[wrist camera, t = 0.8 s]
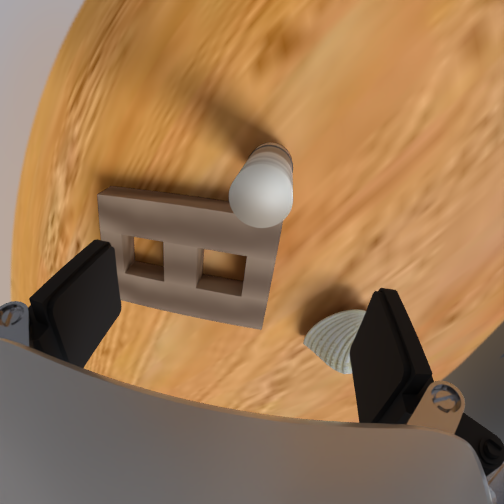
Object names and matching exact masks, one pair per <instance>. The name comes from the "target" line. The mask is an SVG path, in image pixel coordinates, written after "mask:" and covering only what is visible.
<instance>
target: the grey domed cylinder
mask: <svg viewBox="0 0 504 504" xmlns="http://www.w3.org/2000/svg"><path fill="white" fill-rule="evenodd" d="M292 173H293V163H292V158H291V155H290V153H289V152H288V150H287V149H286V148H285V147H283V146H282V145H280V144H278V143H272V142H269V143H264V144H262V145H260V146H258V147H257V148H256V149H255V150H254V151H253V152H252V153H251V155H250V156H249V158H248V160H247V162H246V163H245V165H244V166H243V168H242V169H241V171H240V172H239V174H238V175H237V177H236V178H235V180H234V181H233V183H232V185H231V187H230V190H229V203H230V206H231V209H232V211H233V213H234V214H235V215H236V217H237V218H238V219H239V220H241V221H242V222H243V223H245V224H247V225H249V226H252V227H256V228H268V227H272V226H275V225H277V224H279V223H280V222H282V221H283V220H284V219H285V218H286V217H287V215H288V214H289V212H290V210H291V208H292V204H293V178H292Z"/></svg>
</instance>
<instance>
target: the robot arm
mask: <svg viewBox="0 0 504 504" xmlns="http://www.w3.org/2000/svg"><path fill="white" fill-rule="evenodd" d="M29 300H30V303H31V305H30V306H29V307H27V306H26V304H24V303H22V302H18V301H14V302H9V303H6V304H4V305H2V306H0V504H504V445H503V443H502V441H501V440H500V439H499V438H498V437H497V436H496V435H495V434H493V433H492V432H490V431H489V430H487V429H486V428H485V427H483V426H482V425H480V424H479V423H477V422H476V421H475V420H473V419H472V418H470V417H468V416H467V415H466V414H465V413H463V411H464V407H465V401H464V397H463V395H462V393H461V392H460V391H459V389H458V388H456V387H455V386H454V385H453V384H451V383H448V382H446V381H435V382H434V381H433V378H432V371H431V369H430V366H429V364H428V361H427V359H426V356H425V354H424V351H423V349H422V346H421V344H420V341H419V339H418V337H417V334H416V332H415V330H414V327H413V325H412V323H411V321H410V318H409V316H408V314H407V312H406V310H405V307H404V305H403V303H402V301H401V299H400V297H399V295H398V293H397V291H396V290H392V289H385V288H380V289H379V291H375V292H374V293H373V295H372V298H371V300H370V303H369V305H368V308H367V310H366V313H365V315H364V317H363V320H362V322H361V325H360V327H359V329H358V332H357V334H356V336H355V338H354V341H353V343H352V345H351V348H350V362H351V368H352V374H353V380H354V387H355V393H356V400H357V408H358V415H359V423H354V422H336V421H322V420H309V419H299V418H290V417H281V416H273V415H266V414H259V413H253V412H246V411H240V410H235V409H229V408H224V407H218V406H213V405H209V404H204V403H199V402H195V401H190V400H186V399H182V398H178V397H174V396H170V395H166V394H162V393H158V392H155V391H151V390H148V389H144V388H141V387H137V386H134V385H131V384H128V383H124V382H121V381H118V380H115V379H112V378H109V377H106V376H103V375H100V374H97V373H95V372H92V371H89V370H86V369H84V366H85V365H86V363H87V361H88V360H89V358H90V357H91V355H92V354H93V352H94V351H95V349H96V348H97V346H98V345H99V343H100V342H101V340H102V339H103V337H104V336H105V335H106V333H107V332H108V330H109V329H110V327H111V326H112V324H113V323H114V321H115V320H116V319H117V317H118V316H119V314H120V312H121V299H120V292H119V284H118V276H117V267H116V257H115V249H114V247H112V246H111V243H110V242H107V241H102V240H94V241H93V242H91V243H90V244H89V245H88V246H87V247H85V248H84V249H83V250H82V251H81V252H80V253H78V254H77V255H76V256H75V257H74V258H73V259H72V260H70V261H69V262H68V263H67V264H66V265H65V266H64V267H62V268H61V269H60V270H59V271H58V272H57V273H56V274H55V275H54V276H53V277H51V278H50V279H49V280H48V281H47V282H46V283H45V284H44V285H43V286H42V287H41V288H40V289H39V290H38V291H37V292H36V293H35V294H33V295H32V296H31V297H30V298H29Z"/></svg>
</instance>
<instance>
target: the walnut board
mask: <svg viewBox="0 0 504 504" xmlns="http://www.w3.org/2000/svg"><path fill="white" fill-rule="evenodd" d="M97 197H98V211H99V223H100V233H101V240H102V241H107V242H110V243H111V246H112V247H114V249H115V257H116V267H117V276H118V284H119V292H120V299H121V300H123V301H127V302H131V303H135V304H139V305H143V306H147V307H151V308H155V309H160V310H164V311H169V312H173V313H178V314H182V315H187V316H192V317H196V318H201V319H206V320H211V321H216V322H221V323H227V324H232V325H237V326H243V327H249V328H254V329H260V330H262V325H263V320H264V315H265V310H266V306H267V301H268V296H269V291H270V286H271V281H272V276H273V270H274V265H275V260H276V255H277V250H278V245H279V239H280V234H281V229H282V223H283V221H282V222H280V223H279V224H277V225H275V226H272V227H268V228H256V227H252V226H249V225H247V224H245V223H243V222H242V221H241V220H239V219H238V218H237V217H236V215H235V214H234V213H233V211H232V209H231V206H230V203H229V201H222V200H216V199H209V198H202V197H195V196H188V195H180V194H173V193H165V192H157V191H149V190H141V189H132V188H123V187H114V186H110V187H109V188H107V189H105V190H104V191H102V192H100V193H99V194H97ZM134 237H139V238H145V239H150V240H156V241H162V242H163V246H164V267H163V266H158V265H153V264H148V263H143V262H138V261H135V252H134ZM204 249H208V250H214V251H219V252H225V253H231V254H237V255H243V256H247V260H246V268H245V275H244V281H238V280H233V279H227V278H222V277H216V276H211V275H205V274H203V256H204Z"/></svg>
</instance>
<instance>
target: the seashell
mask: <svg viewBox="0 0 504 504" xmlns="http://www.w3.org/2000/svg"><path fill="white" fill-rule="evenodd" d="M365 313H366V311H365V310H358V309H353V310H346V311H341V312H338V313H335V314H333V315H331V316H328V317H326V318H324V319H323V320H321V321H319V322H318V323H317V324H315V325H314V326H313V327H312V328H311V329H310V330H309V331H308V333H307V334H306V336H305V339H304V342H303V344H304V345H306V346H307V347H308V348H310V349H311V350H312V351H313V352H314V353H315V354H316V355H317V356H319V357H320V358H321V359H322V360H323V361H324V362H325V363H326V364H327V365H329V366H330V367H331V368H332V369H334V370H336V371H338V372H340V373H343V374H351V373H352V368H351V362H350V348H351V345H352V343H353V341H354V338H355V336H356V334H357V332H358V329H359V327H360V325H361V322H362V320H363V317H364V315H365Z"/></svg>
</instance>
